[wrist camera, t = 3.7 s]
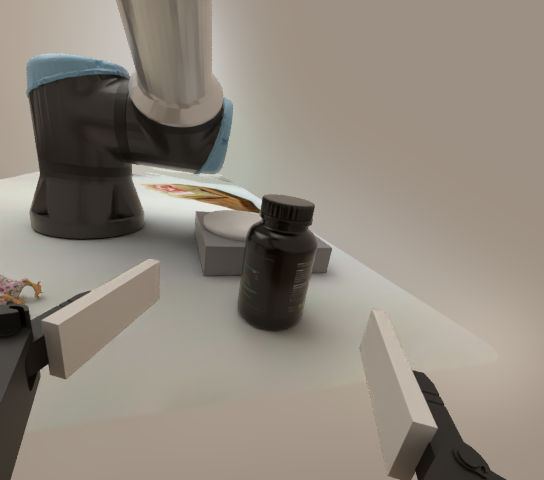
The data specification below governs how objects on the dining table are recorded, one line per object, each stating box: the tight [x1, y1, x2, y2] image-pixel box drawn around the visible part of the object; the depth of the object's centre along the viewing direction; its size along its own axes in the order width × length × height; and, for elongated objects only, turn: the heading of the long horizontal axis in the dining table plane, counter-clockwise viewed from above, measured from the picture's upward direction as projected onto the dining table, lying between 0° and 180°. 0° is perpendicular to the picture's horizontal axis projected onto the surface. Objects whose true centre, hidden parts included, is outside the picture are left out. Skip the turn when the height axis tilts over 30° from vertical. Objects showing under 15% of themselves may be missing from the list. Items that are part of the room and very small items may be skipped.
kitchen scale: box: [195, 210, 332, 276], centre depth 41 cm, size 18×16×5 cm
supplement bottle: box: [238, 195, 317, 331], centre depth 25 cm, size 7×7×12 cm
